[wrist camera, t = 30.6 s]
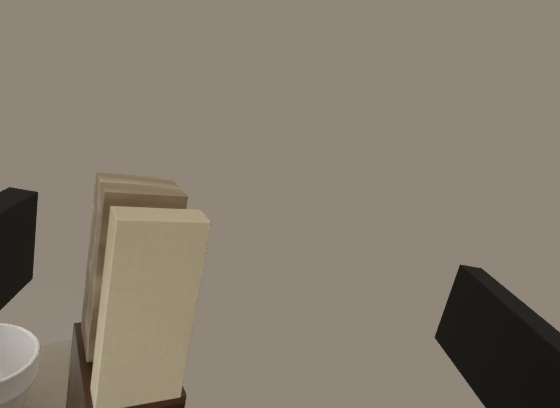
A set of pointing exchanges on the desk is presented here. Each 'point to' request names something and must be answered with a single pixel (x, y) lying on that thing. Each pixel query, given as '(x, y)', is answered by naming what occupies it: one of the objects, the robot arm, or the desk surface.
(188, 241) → the book
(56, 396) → the desk surface
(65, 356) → the desk surface
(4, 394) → the cup
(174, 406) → the bookcase
